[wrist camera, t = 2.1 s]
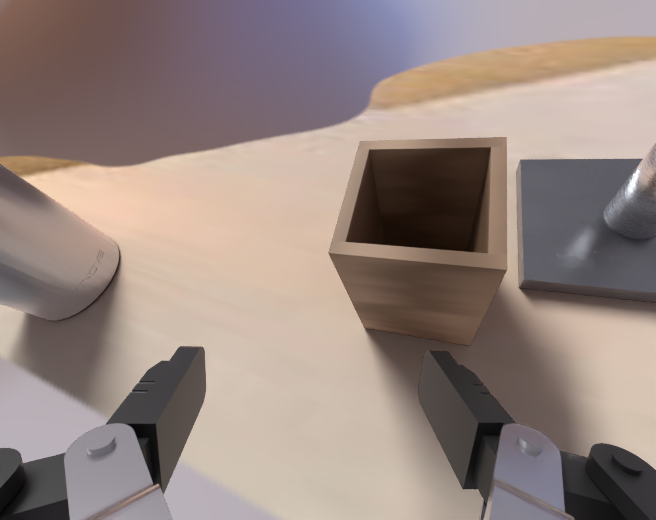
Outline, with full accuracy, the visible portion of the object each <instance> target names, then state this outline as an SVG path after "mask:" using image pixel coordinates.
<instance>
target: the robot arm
mask: <svg viewBox="0 0 656 520" xmlns="http://www.w3.org/2000/svg"><path fill="white" fill-rule="evenodd" d="M118 261H119V249H118V246H117V244H116V242H115V241H114V240H112V239H111V238H110V237H108V236H107V235H105V234H104V233H102V232H101V231H99V230H98V229H96V228H95V227H93V226H92V225H90V224H89V223H88V222H86V221H85V220H83V219H82V218H80V217H79V216H77V215H76V214H74V213H73V212H71V211H70V210H68V209H67V208H65V207H64V206H62V205H61V204H60V203H58V202H57V201H55V200H54V199H52V198H51V197H49V196H48V195H46V194H45V193H43V192H42V191H40V190H39V189H37V188H36V187H34V186H33V185H31V184H30V183H28V182H27V181H25V180H24V179H22V178H21V177H19V176H18V175H16V174H15V173H13V172H12V171H10V170H9V169H7V168H6V167H4V166H3V165H1V164H0V304H2V305H5V306H8V307H11V308H14V309H17V310H20V311H23V312H26V313H29V314H31V315H34V316H37V317H40V318H43V319H47V320H61V319H65V318H68V317H70V316H72V315H75V314H77V313H78V312H80V311H81V310H83V309H84V308H86V307H87V306H89V305H90V304H91V303H92V302H93V301H94V300H95V299H97V297H98V296H99V295H100V294H101V293H102V292H103V291H104V290H105V288H106V287H107V285H108V284H109V282H110V281H111V279H112V277H113V275H114V273H115V271H116V268H117V265H118ZM205 392H206V372H205V351H204V348H203V347H191V346H180V347H179V348H178V349H177V351H176V352H175V354H174V355H173V356H172V358H171V359H170V361H161V362H159V363H158V364H156V365H155V366H153V367H152V368H150V369H149V370H148V371H147V372H146V373H145V375H144V376H143V377H142V378H141V380H140V382H139V383H138V384H137V385H136V386H135V387H134V389H133V390H132V393H130V394H129V395H128V396H127V398H126V399H125V400H124V401H123V403H122V404H121V405H120V407H119V408H118V409H117V410H116V412H115V413H114V414H113V416H112V417H111V418H110V419H109V421H108V422H107V423H106V425H104V426H101V427H97V428H95V429H93V430H91V431H89V432H87V433H85V434H84V435H82V436H81V437H79V438H78V439H77V440H76V441H75V442H74V443H73V444H72V445H71V446H70V447H69V448H68V450H67V452H66V453H63V454H60V455H56V456H52V457H47V458H43V459H39V460H35V461H31V462H27V463H23V462H22V458H21V455H20V453H19V452H18V451H17V450H15V449H11V448H0V520H173V519H172V517H171V514H170V511H169V509H168V506H167V503H166V501H165V499H164V495H163V494H164V492H165V490H166V488H167V485H168V483H169V481H170V478H171V476H172V474H173V471H174V469H175V467H176V464H177V462H178V460H179V458H180V455H181V453H182V451H183V448H184V446H185V444H186V441H187V439H188V437H189V435H190V432H191V430H192V428H193V425H194V423H195V421H196V418H197V416H198V414H199V411H200V409H201V407H202V404H203V402H204V398H205ZM418 394H419V400H420V403H421V406H422V408H423V410H424V412H425V414H426V416H427V418H428V420H429V422H430V424H431V426H432V428H433V430H434V432H435V434H436V436H437V438H438V440H439V442H440V444H441V446H442V448H443V450H444V452H445V454H446V456H447V458H448V460H449V462H450V464H451V466H452V468H453V470H454V472H455V474H456V476H457V478H458V480H459V482H460V484H461V486H462V488H463V489H478V490H479V491H480V493H481V495H482V497H483V503H482V507H481V512H480V518H479V520H656V470H655V469H654V468H653V467H651V466H650V465H649V464H648V463H647V462H645V461H644V460H642V459H641V458H639V457H638V456H636V455H634V454H633V453H631V452H629V451H627V450H625V449H622V448H620V447H617V446H614V445H610V444H603V443H600V444H595V445H593V446H592V448H591V451H590V453H589V456H588V458H587V457H583V456H579V455H575V454H571V453H567V452H563V451H559V449H558V448H557V446H556V445H555V444H554V443H553V442H552V441H551V440H550V439H549V438H548V437H547V436H545V435H544V434H542V433H541V432H539V431H537V430H535V429H533V428H531V427H528V426H526V425H522V424H516V423H515V422H514V420H513V419H512V418H511V417H510V416H509V414H508V413H507V412H506V411H505V410H504V408H503V407H502V406H501V405H500V404H499V402H498V401H497V400H496V399H495V398H494V396H493V395H491V394H490V392H489V390H488V389H487V388H486V387H485V386H483V383H482V382H481V381H480V380H479V378H478V377H477V376H476V375H475V374H474V373H473V372H471V371H470V370H468V369H467V368H465V367H464V366H463V365H458V364H457V363H456V361H455V360H454V359H453V358H452V356H451V355H450V354H449V353H448V352H447V351H426V352H425V354H424V357H423V363H422V369H421V375H420V381H419V387H418Z"/></svg>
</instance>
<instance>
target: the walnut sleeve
mask: <svg viewBox="0 0 656 520" xmlns="http://www.w3.org/2000/svg"><path fill="white" fill-rule="evenodd" d="M329 255H330V257H331V259H332V261H333V264H334V266H335V268H336V270H337V272H338V274H339V276H340V278H341V280H342V282H343V284H344V287H345V289H346V291H347V293H348V295H349V297H350V299H351V301H352V303H353V305H354V307H355V310H356V312H357V314H358V316H359V318H360V320H361V322H362V324H363V326H364V328H368V329H374V330H380V331H386V332H392V333H398V334H403V335H409V336H415V337H421V338H427V339H433V340H439V341H445V342H450V343H456V344H462V345H468V346H470V344H471V342H472V340H473V338H474V336H475V334H476V332H477V330H478V328H479V326H480V324H481V322H482V320H483V318H484V316H485V314H486V312H487V310H488V308H489V306H490V304H491V302H492V299H493V297H494V295H495V293H496V291H497V289H498V287H499V285H500V283H501V281H502V279H503V277H504V275H505V273H506V271H507V137H494V138H458V139H421V140H385V141H360V143H359V146H358V150H357V153H356V157H355V161H354V164H353V168H352V171H351V175H350V178H349V182H348V185H347V189H346V192H345V196H344V200H343V203H342V207H341V210H340V214H339V217H338V221H337V224H336V228H335V231H334V235H333V239H332V242H331V246H330V249H329Z"/></svg>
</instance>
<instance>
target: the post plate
mask: <svg viewBox="0 0 656 520" xmlns="http://www.w3.org/2000/svg"><path fill="white" fill-rule="evenodd" d="M516 179H517V226H518V273H519V288H527V289H536V290H545V291H554V292H564V293H573V294H582V295H591V296H600V297H609V298H618V299H627V300H636V301H645V302H655V303H656V143H655V144H654V146H653V147H652V148H651V149H650V151H649V152H648V153H647V155H646V156H645V157H644V159H552V160H520V162H519V165H518V168H517V171H516Z"/></svg>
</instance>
